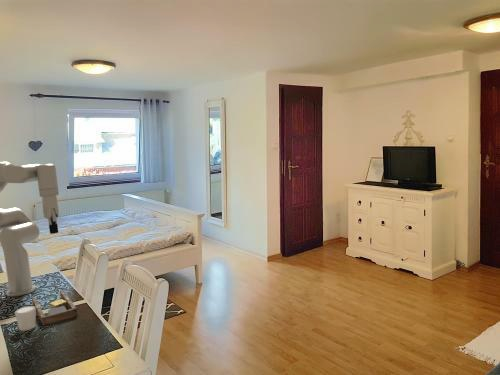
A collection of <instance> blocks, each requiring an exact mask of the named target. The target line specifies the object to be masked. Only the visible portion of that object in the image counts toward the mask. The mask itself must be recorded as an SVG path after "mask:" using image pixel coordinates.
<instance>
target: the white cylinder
mask: <svg viewBox="0 0 500 375" xmlns="http://www.w3.org/2000/svg"><path fill="white" fill-rule="evenodd" d="M14 314H15V315H14V316H15V319H16V324H17V325H18V329H19V330H18V331H24V332H25V331H30V330H32V329H34V328H35V327H36V326H37V320H36V319H37V318H36V317H37V313H36V309H35V307H34V306H33V305H27V306H23V307H21V308H18V309H16V310H15V311H14Z"/></svg>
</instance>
